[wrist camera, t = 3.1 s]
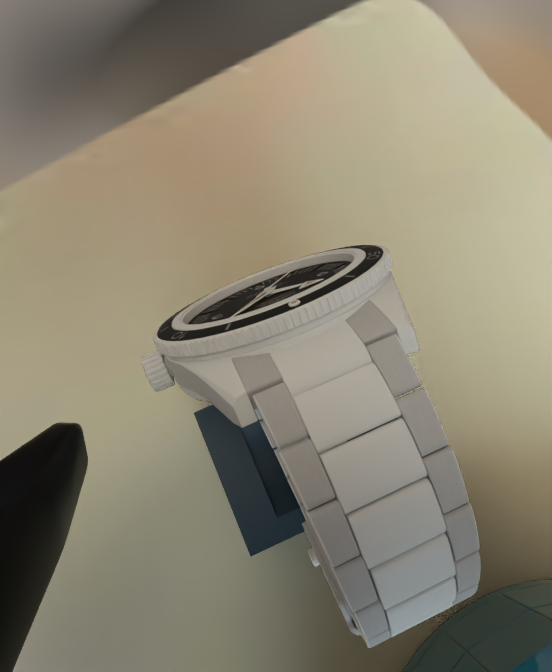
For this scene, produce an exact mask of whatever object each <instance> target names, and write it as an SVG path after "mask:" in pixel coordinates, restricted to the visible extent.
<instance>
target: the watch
mask: <svg viewBox="0 0 552 672" xmlns="http://www.w3.org/2000/svg"><path fill="white" fill-rule="evenodd" d="M391 267H392V260H391V257H390V253H389V251H388V249H387V248H384V247H382V246H376V245H358V246H350V247H343V248H338V249H333V250H329V251H324V252H320V253H317V254H313V255H309V256H306V257H302V258H299V259H295V260H292V261H289V262H286V263H283V264H280V265H277V266H274V267H271V268H268V269H266V270H263V271H260V272H258V273H255V274H253V275H250V276H248V277H245V278H243V279H241V280H238V281H236V282H234V283H231V284H229V285H227V286H225V287H223V288H221V289H219V290H217V291H214V292H212V293H210V294H208V295H206V296H205V297H203V298H201V299H199V300H197V301H195V302H193V303H192V304H190V305H188V306H187V307H185V308H183V309H182V310H180V311H179V312H177V313H176V314H174V315H173V316H172V317H170V318H169V319H168V320H167V321H165V322H164V323H163V324H162V325H161V326H160V327H159V328H158V329H157V331H156V332H155V334H154V336H153V340H154V343H155V345H156V347H157V349H158V350H156V351H153V352H151V353H148V354H146V355H144V356H142V357H141V360H142V364H143V368H144V371H145V374H146V376H147V378H148V380H149V382H150V384H151V386H152V387H153V389H154V390H155V391H156V392H158V391H161V390H163V389H166V388H168V387H170V386H173V385H174V384H175V382H174V377H175V379H176V381H177V383H178V385H179V386H180V388H181V389H182V390H184V391H185V392H186V393H187V394H188V395H190V396H191V397H192V398H195V399H197V400H207V401H208V402H211V403H212V404H213V405H211V406H209V407H206V408H204V409H202V410H199V411H197V412H195V413H194V415H195V417H196V420H197V422H198V425H199V427H200V430H201V432H202V435H203V437H204V440H205V442H206V445H207V447H208V450H209V452H210V455H211V457H212V460H213V463H214V465H215V468H216V470H217V473H218V475H219V478H220V480H221V483H222V485H223V488H224V490H225V493H226V495H227V498H228V500H229V503H230V505H231V508H232V510H233V513H234V515H235V518H236V521H237V523H238V526H239V528H240V531H241V533H242V536H243V538H244V541H245V543H246V546H247V548H248V551H249V553H250V556H253V555H255V554H257V553H259V552H261V551H263V550H265V549H268V548H270V547H272V546H274V545H276V544H278V543H280V542H282V541H284V540H286V539H289V538H291V537H293V536H295V535H297V534H299V533H301V532H303V531H305V533H306V535H307V538H308V540H309V542H310V544H311V547H312V548H310V549H308V554H309V557H310V559H311V561H312V563H313V565H314V566H315V567H316V566H318V565H320V566H321V569H322V571H323V573H324V575H325V577H326V580H327V582H328V584H329V586H330V588H331V590H332V593H333V595H334V597H335V599H336V601H337V603H338V606H339V608H340V610H341V612H342V614H343V616H344V618H345V621H346V623H347V625H348V627H349V629H350V631H351V633H353V634H355V635H357V636H360V635H361V636H362V637H363V639H364V641H365V643H366V645H367V647H368V648H372V647H374V646H376V645H378V644H379V643H381V642H383V641H385V640H387V639H389V638H390V637H394V636H396V635H398V634H399V633H401V632H403V631H405V630H407V629H409V628H411V627H413V626H415V625H417V624H419V623H421V622H423V621H425V620H427V619H429V618H431V617H433V616H435V615H437V614H439V613H440V612H442V611H444V610H446V609H448V608H450V607H452V606H454V605H456V604H458V603H459V602H461V601H463V600H465V599H467V598H469V597H471V596H473V595H474V594H475V592H476V590H477V588H478V582H479V581H480V574H481V561H480V554H479V551H478V550H479V549H480V543H479V535H478V530H477V525H476V520H475V516H474V511H473V508H472V506H471V504H470V503H469V502H468V501H469V497H468V493H467V490H466V487H465V483H464V480H463V477H462V474H461V471H460V468H459V465H458V462H457V459H456V456H455V454H454V451H453V449H452V448H451V447H450V446H447V445H448V443H449V442H448V439H447V436H446V433H445V431H444V429H443V426H442V424H441V421H440V419H439V417H438V414H437V412H436V410H435V408H434V405H433V403H432V401H431V399H430V397H429V395H428V392H427V391H426V389H425V388H420V389H418V390H415V391H413V392H411V393H409V394H407V395H404V396H402V397H400V398H398V399H396V400H395V399H394V398H395V397H398V396H400V395H402V394H404V393H407V392H409V391H411V390H413V389H415V388H418V387H420V386H421V381H420V378H419V376H418V374H417V372H416V370H415V368H414V366H413V364H412V362H411V360H410V358H409V356H408V354H411V353H413V352H415V351H417V350H419V349H420V348H419V344H418V341H417V338H416V334H415V331H414V328H413V325H412V323H411V320H410V318H409V315H408V313H407V310H406V308H405V305H404V303H403V301H402V298H401V296H400V294H399V292H398V289H397V287H396V284H395V281H394V278H393V275H392V273H391V271H390V269H391Z"/></svg>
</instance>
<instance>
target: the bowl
mask: <svg viewBox="0 0 552 672" xmlns="http://www.w3.org/2000/svg"><path fill="white" fill-rule="evenodd" d="M403 672H552V579H546V580H534V581H530V582H525V583H521V584H517V585H512V586H508V587H506V588H503V589H501V590H498V591H496V592H493V593H491V594H488V595H485V596H483V597H481V598H480V599H478V600H476V601H475V602H473V603H471V604H469V605H468V606H466V607H464V608H463V609H461V610H460V611H458V612H457V613H456V614H455V615H453V616H452V617H451V618H450V619H448V620H447V621H446V622H445V623H443V624H442V625H441V626H440V627H438V629H437V630H436V631H435V632H434V633H433V634H432V635H431V636H430V637H429V638H428V639H427V640H426V641H425V642H424V644H423V645H422V646H421V647H420V648H419V649H418V651H417V652H416V653H415V655H414V656H413V658H412V659H411V661H410V662H409V663H408V665H407V666H406V668H405V669H404V671H403Z"/></svg>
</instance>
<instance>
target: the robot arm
mask: <svg viewBox="0 0 552 672" xmlns="http://www.w3.org/2000/svg"><path fill="white" fill-rule="evenodd" d="M87 465H88V456H87V451H86V446H85V441H84V436H83V431H82V428H81V426H80V425H79V424H77V423H56V424H54V425H52V426H51V427H49V428H48V429H46V430H45V431H43V432H42V433H40V434H39V435H37V436H36V437H34V438H33V439H32V440H30V441H29V442H27V443H26V444H24V445H23V446H21V447H20V448H18V449H17V450H15V451H14V452H12V453H11V454H9V455H8V456H7V457H5V458H4V459H2V460H1V461H0V672H12V671H13V669H14V666H15V664H16V661H17V659H18V657H19V654H20V652H21V649H22V647H23V645H24V642H25V640H26V637H27V635H28V633H29V630H30V628H31V625H32V623H33V621H34V618H35V616H36V613H37V611H38V609H39V606H40V604H41V601H42V599H43V597H44V594H45V592H46V589H47V587H48V585H49V582H50V580H51V577H52V575H53V573H54V570H55V568H56V565H57V563H58V561H59V558H60V556H61V553H62V550H63V548H64V545H65V542H66V539H67V535H68V532H69V529H70V525H71V522H72V518H73V515H74V512H75V508H76V505H77V501H78V498H79V494H80V491H81V487H82V484H83V481H84V477H85V474H86V470H87Z"/></svg>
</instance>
